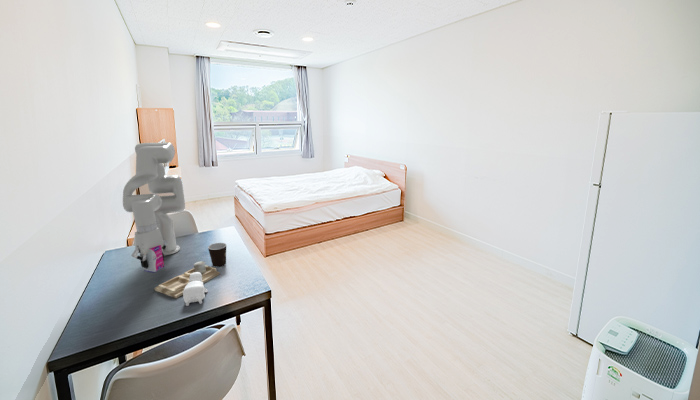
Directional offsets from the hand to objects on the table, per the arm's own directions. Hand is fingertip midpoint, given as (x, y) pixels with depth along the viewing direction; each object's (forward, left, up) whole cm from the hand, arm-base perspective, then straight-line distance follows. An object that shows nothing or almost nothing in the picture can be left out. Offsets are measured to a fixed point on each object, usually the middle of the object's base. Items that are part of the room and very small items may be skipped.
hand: (153, 263), depth 142 cm
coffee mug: (+11, +27, -10) cm, 31 cm away
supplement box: (0, 0, -3) cm, 3 cm away
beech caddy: (+13, +7, -9) cm, 17 cm away
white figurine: (+26, 0, -10) cm, 28 cm away
